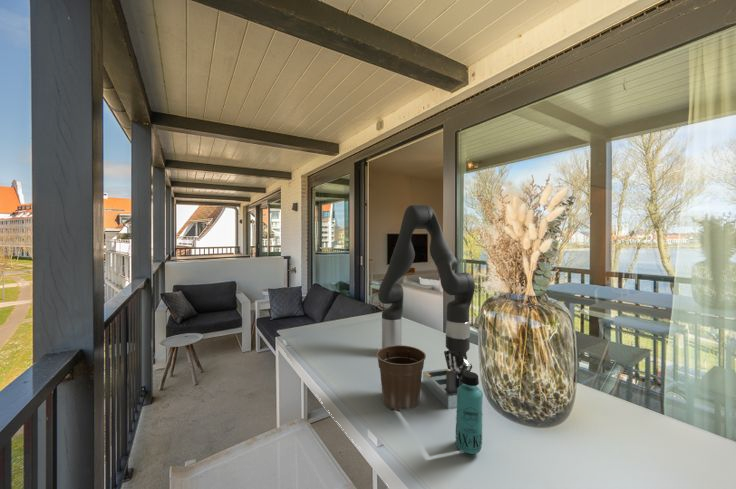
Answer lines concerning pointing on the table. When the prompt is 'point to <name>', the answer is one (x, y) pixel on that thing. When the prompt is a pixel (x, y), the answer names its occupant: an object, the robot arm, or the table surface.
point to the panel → (451, 381)
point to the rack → (440, 387)
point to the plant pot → (401, 375)
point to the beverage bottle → (469, 414)
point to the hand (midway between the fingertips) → (457, 386)
